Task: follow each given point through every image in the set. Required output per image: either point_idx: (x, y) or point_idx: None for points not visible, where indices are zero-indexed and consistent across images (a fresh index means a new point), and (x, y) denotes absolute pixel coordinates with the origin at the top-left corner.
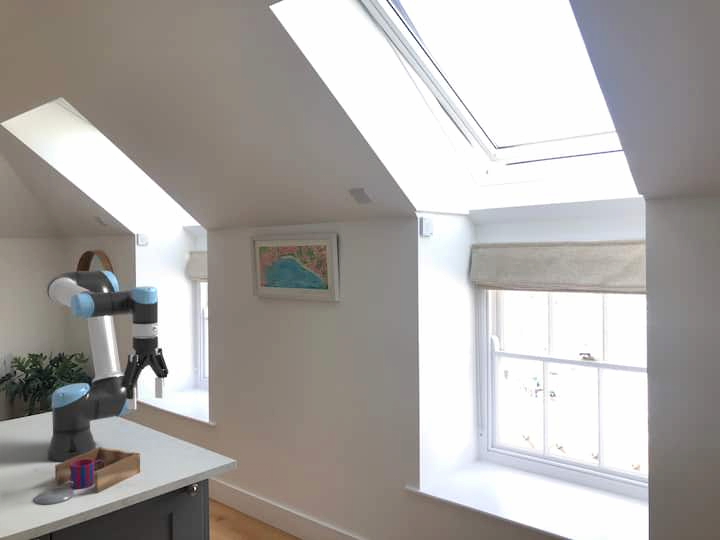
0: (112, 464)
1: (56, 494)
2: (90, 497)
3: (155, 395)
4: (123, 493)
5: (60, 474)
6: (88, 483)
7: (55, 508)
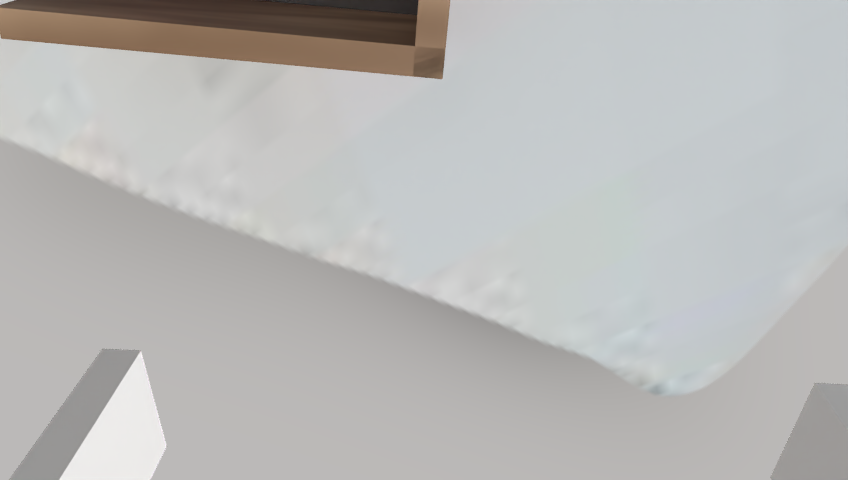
0: (169, 33)
1: None
2: None
3: (832, 415)
4: (150, 150)
5: None
6: None
7: None
